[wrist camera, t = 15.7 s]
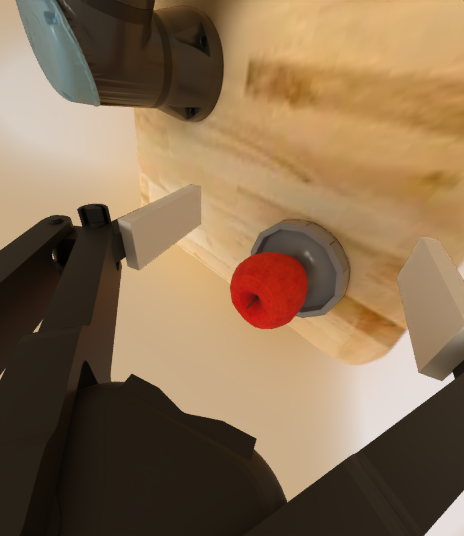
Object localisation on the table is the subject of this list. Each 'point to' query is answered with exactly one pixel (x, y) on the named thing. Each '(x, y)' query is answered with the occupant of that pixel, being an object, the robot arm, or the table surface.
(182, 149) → the table surface
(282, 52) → the table surface
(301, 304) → the apple
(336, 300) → the dish
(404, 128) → the table surface
